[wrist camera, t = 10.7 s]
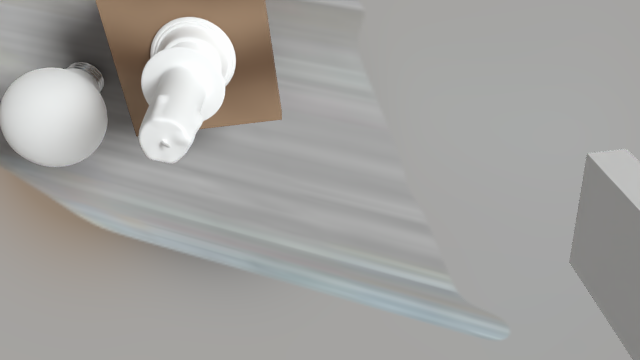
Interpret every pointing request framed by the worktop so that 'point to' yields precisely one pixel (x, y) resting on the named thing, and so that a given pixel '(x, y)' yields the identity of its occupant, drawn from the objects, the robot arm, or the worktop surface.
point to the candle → (183, 85)
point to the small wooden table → (225, 12)
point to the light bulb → (55, 114)
